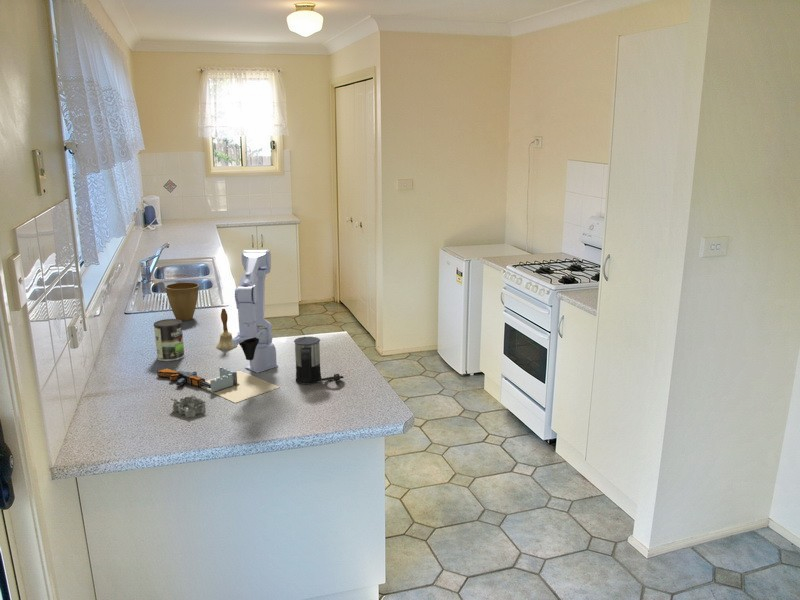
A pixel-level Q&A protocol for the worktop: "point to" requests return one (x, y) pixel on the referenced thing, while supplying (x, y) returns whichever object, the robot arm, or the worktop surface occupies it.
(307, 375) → the milk frother
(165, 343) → the coffee can
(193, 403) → the grey rock
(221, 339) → the hand bell
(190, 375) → the toy
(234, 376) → the fence hinged panel
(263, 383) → the card
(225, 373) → the fence fixed panel
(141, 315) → the worktop surface
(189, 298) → the plant pot
